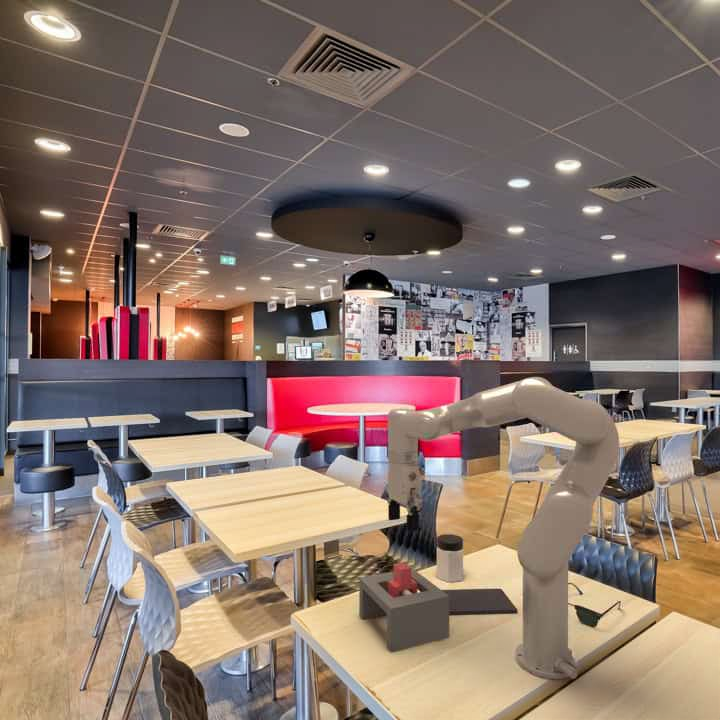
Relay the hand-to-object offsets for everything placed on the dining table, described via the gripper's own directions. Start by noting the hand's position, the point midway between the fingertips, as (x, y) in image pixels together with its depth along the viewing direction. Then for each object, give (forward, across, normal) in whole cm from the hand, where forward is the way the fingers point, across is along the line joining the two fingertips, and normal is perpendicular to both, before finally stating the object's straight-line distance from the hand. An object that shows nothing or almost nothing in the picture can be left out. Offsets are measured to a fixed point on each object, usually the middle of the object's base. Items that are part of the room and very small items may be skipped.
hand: (403, 524), depth 124 cm
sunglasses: (+27, -12, -50) cm, 58 cm away
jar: (+26, +20, -28) cm, 43 cm away
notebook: (+26, +3, -24) cm, 36 cm away
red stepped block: (+24, 0, 0) cm, 24 cm away
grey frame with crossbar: (+26, 0, 0) cm, 26 cm away
